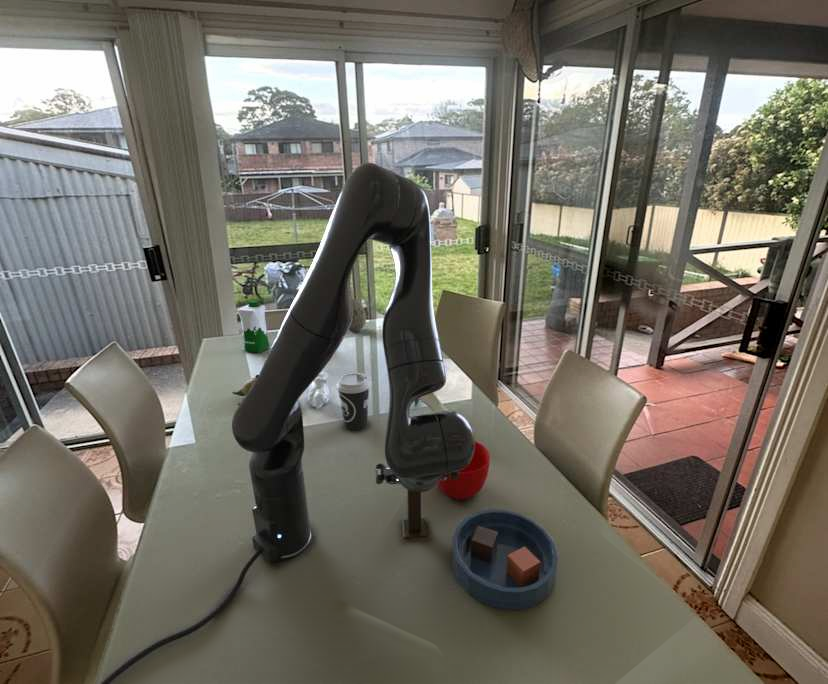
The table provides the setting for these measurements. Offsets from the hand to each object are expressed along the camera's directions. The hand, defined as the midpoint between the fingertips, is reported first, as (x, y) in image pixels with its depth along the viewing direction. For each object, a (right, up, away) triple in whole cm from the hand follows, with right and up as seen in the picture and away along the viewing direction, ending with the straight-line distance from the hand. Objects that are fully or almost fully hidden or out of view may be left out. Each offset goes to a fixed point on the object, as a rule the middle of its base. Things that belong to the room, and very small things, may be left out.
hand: (414, 477), depth 82 cm
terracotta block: (+19, -17, -3) cm, 26 cm away
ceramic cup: (+9, -9, +20) cm, 24 cm away
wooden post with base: (0, -14, +8) cm, 16 cm away
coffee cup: (-17, +1, +46) cm, 49 cm away
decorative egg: (-27, +30, +121) cm, 127 cm away
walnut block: (+13, -15, +2) cm, 20 cm away
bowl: (+16, -17, 0) cm, 23 cm away
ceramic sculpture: (-50, +6, +61) cm, 79 cm away
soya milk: (-65, +22, +101) cm, 122 cm away
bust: (-30, +6, +58) cm, 66 cm away
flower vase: (+4, +3, +51) cm, 51 cm away
